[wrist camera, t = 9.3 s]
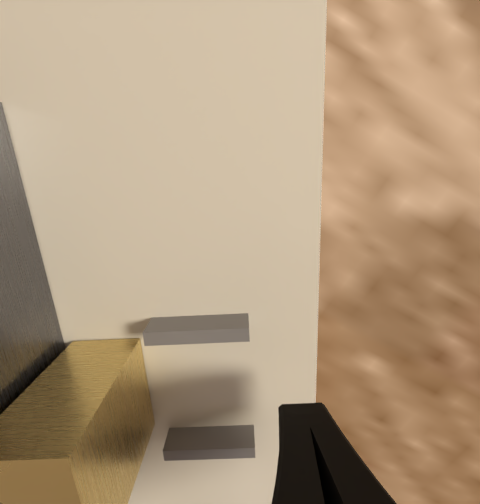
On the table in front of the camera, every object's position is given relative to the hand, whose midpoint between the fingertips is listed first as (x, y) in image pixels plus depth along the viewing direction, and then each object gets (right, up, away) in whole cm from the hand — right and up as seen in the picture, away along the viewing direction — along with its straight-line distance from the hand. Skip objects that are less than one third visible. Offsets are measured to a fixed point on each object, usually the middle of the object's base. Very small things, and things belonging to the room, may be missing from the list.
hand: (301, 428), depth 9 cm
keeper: (-7, 0, +2) cm, 7 cm away
